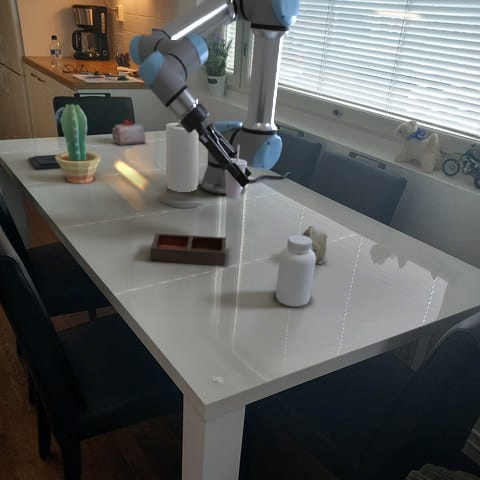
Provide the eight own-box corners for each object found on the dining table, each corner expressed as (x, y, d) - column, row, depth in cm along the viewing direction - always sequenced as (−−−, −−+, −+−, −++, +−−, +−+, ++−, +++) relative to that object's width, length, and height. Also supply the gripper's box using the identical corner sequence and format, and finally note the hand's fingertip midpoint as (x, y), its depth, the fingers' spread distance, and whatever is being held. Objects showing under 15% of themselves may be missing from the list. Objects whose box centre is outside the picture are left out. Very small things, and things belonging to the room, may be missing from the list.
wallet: (34, 164, 185) (28, 154, 197) (34, 169, 186) (28, 158, 198) (88, 161, 194) (80, 151, 205) (89, 166, 195) (80, 156, 206)
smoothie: (242, 201, 136) (246, 148, 129) (219, 198, 137) (221, 145, 130) (246, 194, 142) (250, 143, 134) (224, 191, 143) (227, 140, 135)
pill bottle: (272, 290, 120) (279, 231, 112) (305, 291, 121) (314, 232, 113) (277, 307, 113) (285, 246, 105) (312, 308, 114) (322, 247, 106)
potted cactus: (88, 170, 190) (81, 99, 177) (110, 181, 181) (105, 107, 168) (49, 177, 180) (39, 102, 167) (71, 188, 172) (62, 110, 158)
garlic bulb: (307, 273, 134) (305, 245, 127) (291, 256, 140) (288, 228, 132) (336, 260, 136) (337, 231, 129) (319, 243, 142) (319, 214, 134)
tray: (156, 245, 137) (155, 233, 135) (225, 249, 138) (226, 237, 136) (150, 261, 129) (150, 248, 127) (224, 265, 130) (225, 252, 128)
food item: (118, 146, 224) (116, 123, 218) (111, 142, 229) (110, 119, 224) (146, 144, 230) (146, 121, 225) (139, 140, 236) (138, 118, 230)
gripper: (185, 114, 138) (239, 179, 146) (171, 129, 122) (233, 200, 130) (205, 95, 135) (259, 162, 144) (193, 107, 119) (255, 182, 127)
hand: (247, 180), depth 137 cm, fingers closed on smoothie, 6 cm apart
